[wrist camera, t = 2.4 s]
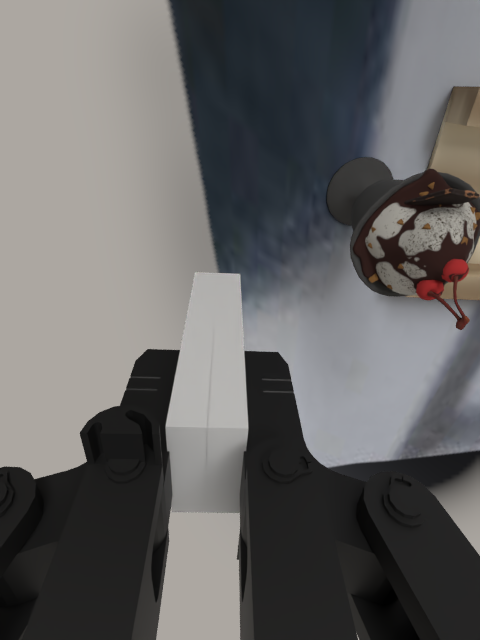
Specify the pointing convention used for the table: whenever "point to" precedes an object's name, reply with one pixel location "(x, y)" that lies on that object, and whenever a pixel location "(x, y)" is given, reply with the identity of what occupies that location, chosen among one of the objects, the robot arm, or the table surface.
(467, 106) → the rest
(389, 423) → the table surface
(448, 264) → the sundae
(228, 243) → the table surface
